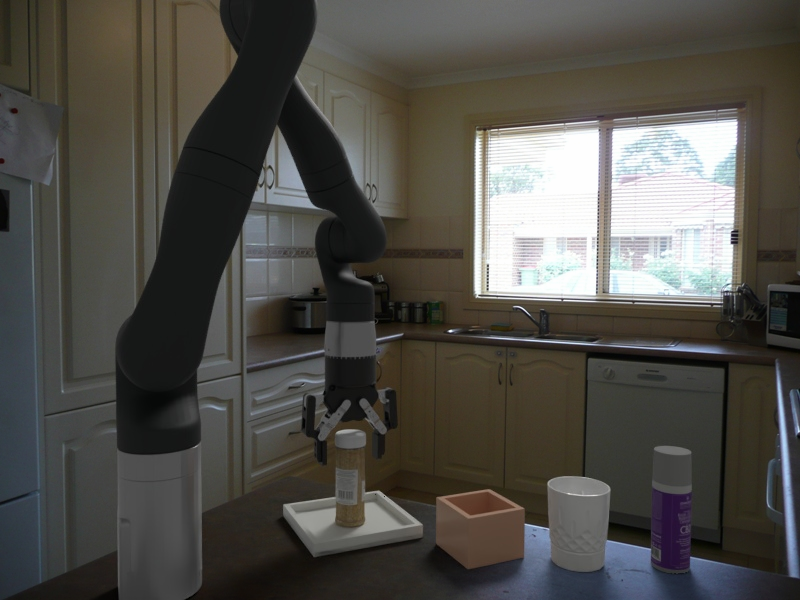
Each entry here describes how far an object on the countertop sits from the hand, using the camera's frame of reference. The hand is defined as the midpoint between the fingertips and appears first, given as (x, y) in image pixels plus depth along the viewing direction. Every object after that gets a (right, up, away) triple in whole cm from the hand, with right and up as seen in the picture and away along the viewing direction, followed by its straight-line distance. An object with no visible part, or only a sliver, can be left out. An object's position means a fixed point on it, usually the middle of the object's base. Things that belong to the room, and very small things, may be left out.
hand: (350, 461), depth 95 cm
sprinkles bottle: (0, -9, 0) cm, 9 cm away
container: (+42, -11, -12) cm, 45 cm away
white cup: (+30, -10, -11) cm, 34 cm away
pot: (+18, -10, -8) cm, 22 cm away
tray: (0, -10, 0) cm, 10 cm away
